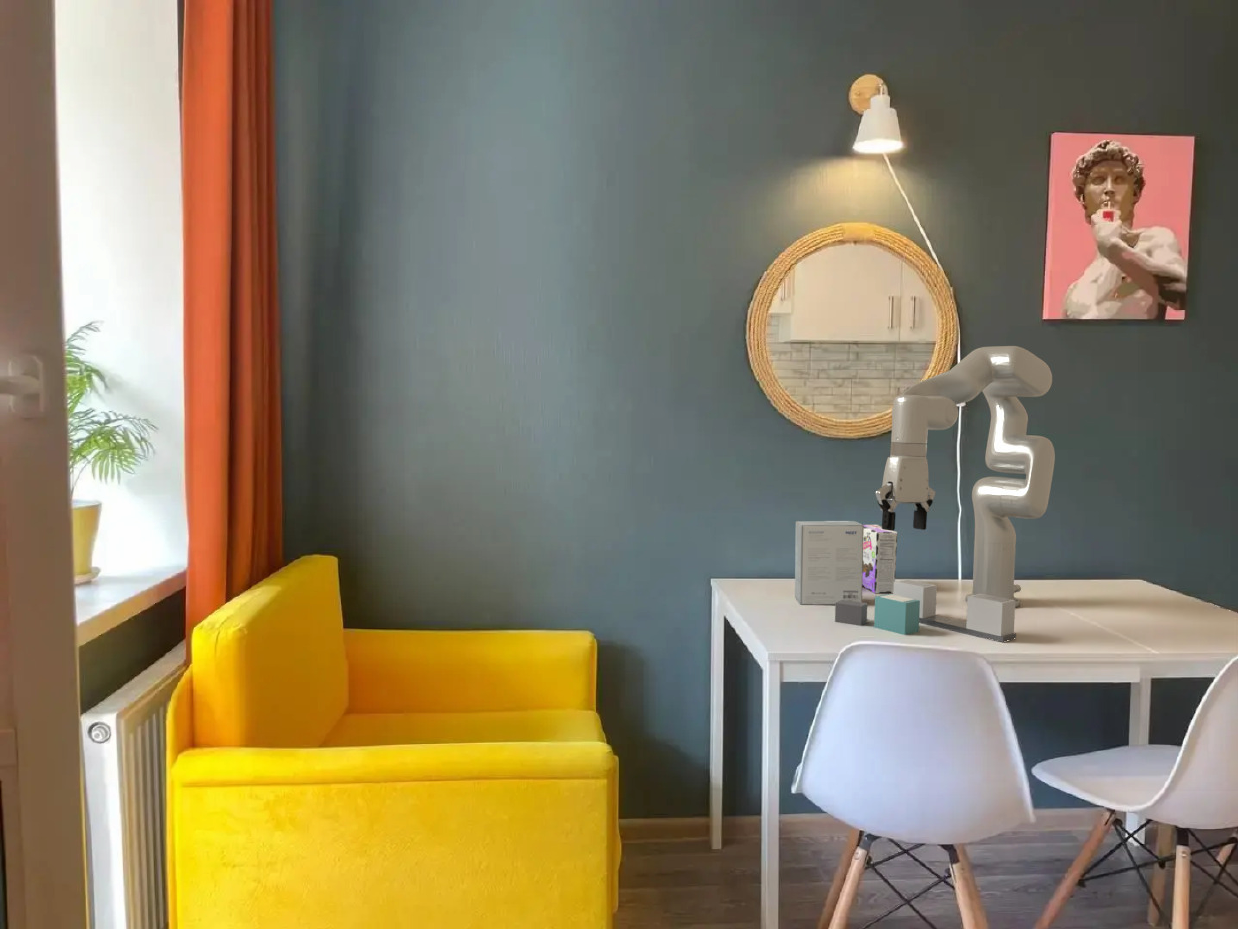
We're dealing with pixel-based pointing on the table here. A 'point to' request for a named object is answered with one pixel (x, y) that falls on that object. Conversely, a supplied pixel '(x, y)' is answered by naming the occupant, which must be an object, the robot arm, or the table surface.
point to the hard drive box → (828, 561)
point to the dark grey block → (851, 612)
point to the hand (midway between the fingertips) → (904, 529)
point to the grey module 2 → (990, 614)
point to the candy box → (879, 559)
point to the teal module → (897, 614)
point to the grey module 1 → (918, 595)
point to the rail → (961, 627)
